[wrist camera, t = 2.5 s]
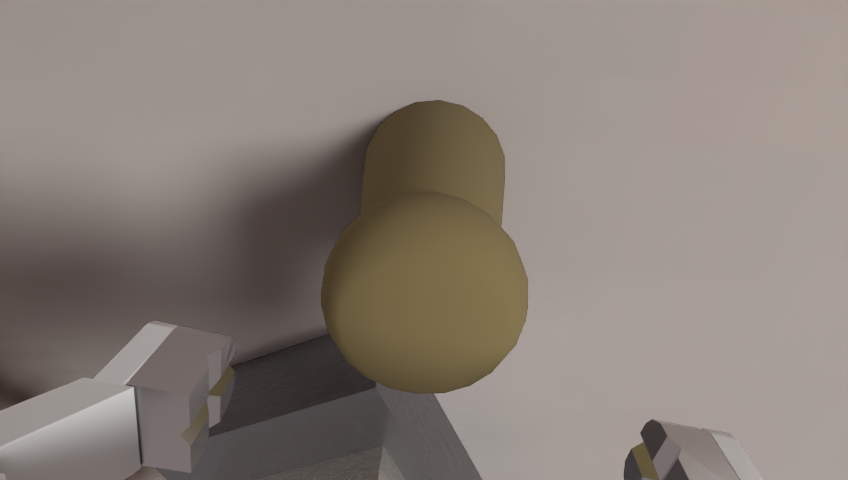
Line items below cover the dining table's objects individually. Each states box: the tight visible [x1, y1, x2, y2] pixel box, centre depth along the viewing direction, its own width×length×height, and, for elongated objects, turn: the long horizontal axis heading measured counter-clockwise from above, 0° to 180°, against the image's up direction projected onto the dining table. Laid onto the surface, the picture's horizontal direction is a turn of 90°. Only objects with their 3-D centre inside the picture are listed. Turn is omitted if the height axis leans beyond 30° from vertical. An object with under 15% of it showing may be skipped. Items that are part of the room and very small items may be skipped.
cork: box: [321, 100, 528, 394], centre depth 16 cm, size 6×6×11 cm
